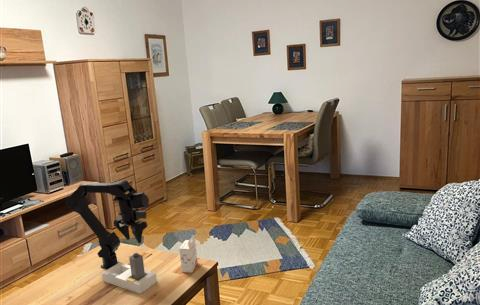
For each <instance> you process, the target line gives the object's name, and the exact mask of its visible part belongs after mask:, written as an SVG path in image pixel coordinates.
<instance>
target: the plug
mask: <svg viewBox="0 0 480 305" xmlns="http://www.w3.org/2000/svg"><path fill="white" fill-rule="evenodd" d="M143 256H144V255H141V253H138V252H135V253H133V254H132V255H130V256H128V257H129V258H128V259H129V265H130V267H131V274H132V279H135V280H136V281H139V280H140V279H142V278H143V277H145V271H144V270H145V265H144V257H143Z"/></svg>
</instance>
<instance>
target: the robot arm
mask: <svg viewBox="0 0 480 305" xmlns="http://www.w3.org/2000/svg"><path fill="white" fill-rule="evenodd" d="M89 193H90V194H93V193H94V194H109V195H111V196H114V198H113V199H112V201H113V202H117V204H118V207H119V212H118V216H120V217H117V218H116V219H114V220H113V226H114V227H115V228H116V229H117V230H118V231H119V232H120V233H121V235H122V236H123V237H124V238H125V239H126V240H127V241H129V240H130V230H131V233H132V234H133V237H134V239H135V240H136V241H137V243H138V244H142V239H143V232H144V230H146V228H148V222H147V221H146V219H147V211H146V210H140V209H147V208H148V206H149V203H150V199H149V197H148V196H147V194H145V191H143V192H142V191H141V192H138V191H137V190H136V189H135V188H134V187H133V186H132V185H131V184H130V183H129V181H128V180H126V179H123V180H117V181H114V182H88V181H85V182H82V183H81V184H80V185H78V187H77V188H76V189H75V190H74V191H73V192H72V193H71V194H70V195H69V196H67V197H66V199H65V204H66V206H67V208H69V209H70V210H71V211H72V212H74V213H77V214H78V215H80V217H81V218H82V219H83V220H84V222H85V223H86V225H87V226H88V227H89V228H90V230H91V232H93V234H95V236H96V237H97V238H98V244H99V247H100V250H99V251H98V252H97V256H98V258H101V259H102V264H101V265H100V268H102V269H106V270H108V269H109V268H111V267H113V266H114V265H116V264H118V263H119V262H120V261H118V257H117V252H116V251H118V249H119V247H120V246H121V240H120V237H119V236H118V235H117V233H116V231H112V232H110V231H108V230H107V229H106V227H105V226H104V225H103V224H102V222H101V221H100V219H99V218H98V217H97V216H96V214H95V213H94V212H93V211H92V209H91V208H90V206H89V202H88V199H87V196H88V194H89ZM140 219H144V220H140Z"/></svg>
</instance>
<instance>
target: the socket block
mask: <svg viewBox="0 0 480 305" xmlns="http://www.w3.org/2000/svg"><path fill="white" fill-rule="evenodd" d="M118 262H119V263H118V264H116V265H114V266H113V267H111V268H109V269H106V270H105V271H102V273H101V275H102V280H103V282H105V283H108V284H110V285H114V286H116V287H119V288H123V289H125V290H128V291H131V292H134V293H137V294H142V293H143V292H145V291H146V290H147V289H149V288H150V287H152V286H154V284H155V283H157V282H158V279H157V272H154V271H150V270H148V269H144V271H145V277H143V278H142V279H140V280H139V281H136V280H135V279H132V274H131V267H130V264H127V263H124V262H120V261H118Z"/></svg>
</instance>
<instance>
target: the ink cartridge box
mask: <svg viewBox="0 0 480 305" xmlns="http://www.w3.org/2000/svg"><path fill="white" fill-rule="evenodd" d="M196 245H197V244H196V238H195V234H192V235H191V237H190V238H189V239H185V240H184V241H183V243H182V244H181V245H180V247H179V248H178V250H179V258H180V265H181V266H180V267H181V272H182V273H190V274H191V273H193V272H194V270H195V268H196V266H197V265H198V256H197V255H198V253H197V246H196Z"/></svg>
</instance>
